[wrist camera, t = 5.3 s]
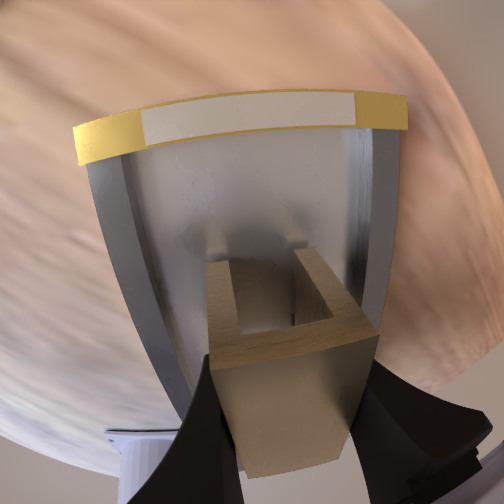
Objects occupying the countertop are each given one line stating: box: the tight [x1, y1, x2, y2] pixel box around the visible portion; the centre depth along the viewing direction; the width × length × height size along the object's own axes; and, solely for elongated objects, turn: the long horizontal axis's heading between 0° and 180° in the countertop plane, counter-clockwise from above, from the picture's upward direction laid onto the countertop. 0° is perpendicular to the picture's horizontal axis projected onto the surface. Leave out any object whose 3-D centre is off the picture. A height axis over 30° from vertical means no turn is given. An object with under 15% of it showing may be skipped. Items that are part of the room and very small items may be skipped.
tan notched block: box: [206, 247, 380, 479], centre depth 10 cm, size 8×4×5 cm, turn 6°
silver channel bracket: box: [73, 89, 408, 422], centre depth 12 cm, size 16×11×3 cm
